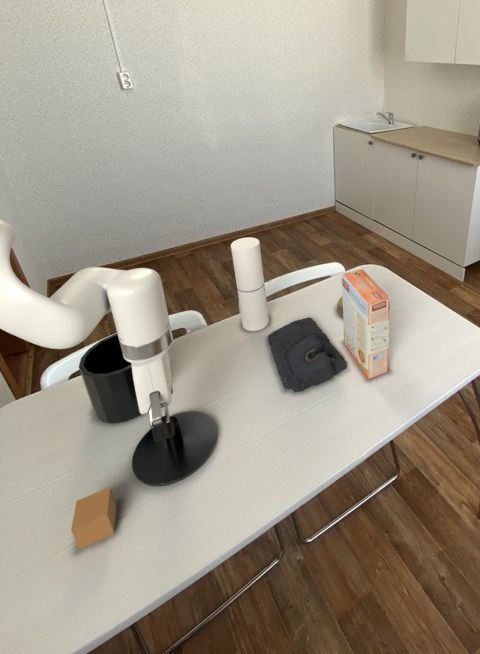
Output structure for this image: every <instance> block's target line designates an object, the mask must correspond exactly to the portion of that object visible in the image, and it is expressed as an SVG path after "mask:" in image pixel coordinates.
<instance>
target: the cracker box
mask: <svg viewBox="0 0 480 654" xmlns="http://www.w3.org/2000/svg"><path fill="white" fill-rule="evenodd" d="M341 283H342V287H341V288H342V296H343V317H342V319H343V343H344V345H345V347H346V348H347V350H348V352H349V353H350V354H351V356H352V358H353V359H354V361H355V362H356V364H357V365H358V367H359V368H360V370H361V371H362V373H363V375H364V377H365V379H367V380H371V379H373V378H376V377H379V376H381V375H384V374H386V373H389V361H390V360H389V358H390V357H389V356H390V355H389V353H390V316H391V315H390V314H391V313H390V310H391V308H390V307H391V298H390V296H389V295H388V294H387V293H386V292H385V291H384V290H383V289H382V288H381V286H379V285H378V284H377V282H375V281H374V280H373V279H372V278H371V276H369V274H367V272H366V271H365V270H364V268H363V269H356V270H353V271H349V272H345V273H342V274H341Z"/></svg>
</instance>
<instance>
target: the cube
mask: <svg viewBox="0 0 480 654" xmlns="http://www.w3.org/2000/svg"><path fill="white" fill-rule="evenodd" d="M117 506H118V505H117V502H116V499H115V497H114V493H113V490H112V488H111V486H109V487H107V488H104V489H101V490H100V491H97V492H94V493H92V494H90V495H87V496H84V497H82V498H80V499H78V500H76V502H75V507H74V513H73V518H72V519H73V520H72V522H71V528H70V532H71V534H72V536H73V539H74V541H75V543H76V545H77V547H78V549H79V550H81V549H83V548H86V547H88V546H90V545H92V544H94V543H96V542H99V541H101V540H103V539H105V538H108V537H110V536H112V535H114V534H115V528H116V518H117V508H118V507H117Z"/></svg>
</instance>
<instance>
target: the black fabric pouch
mask: <svg viewBox="0 0 480 654" xmlns="http://www.w3.org/2000/svg"><path fill="white" fill-rule="evenodd" d="M267 340H268V344H269V347H270V350H271V354H272V355H271V356H272V358H273V362H274V364H275V367H276V368H277V372H278V375H279V378H280V381H281V383H282V386H283V388H284V389H286V390H290V389H291V390H292V391H293V392H294V393H300V392H304V391H305V390H307V389H309V388H311V387H314V386H318V385H319V386H320V385H321V384H325V382H328V381H330V380H332V379H333V377H335V376H337V375H338V374H339V373H341V372H342V371H344V370H346V369H347V362H346V360H345V358H344V357H343V355H341V353H340V351H338V349H337V347H335V346H334V345H333V344H332V343H331V342H330V339H329V338H328V335H326V334H325V332H323V330H322V328H320V326H319V325H318V324H317V323H316V321H315V320H314V318H312V317H310V316H308V317H304V318H300V319H297V320H293V321H290V322H289V323H288V324H285V325H283V326H282V327H280V328H278V329H276V330H274V331H273V332H271V333H269V334H268V335H267ZM332 358H333V359H334V360H332Z"/></svg>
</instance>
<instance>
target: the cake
mask: <svg viewBox="0 0 480 654" xmlns="http://www.w3.org/2000/svg"><path fill="white" fill-rule="evenodd" d="M336 310H337V311H336V312H337V315H339V316H340V317H341V318H343V295H342V296H341V297H340V298H339V299H338V301H337V308H336Z"/></svg>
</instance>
